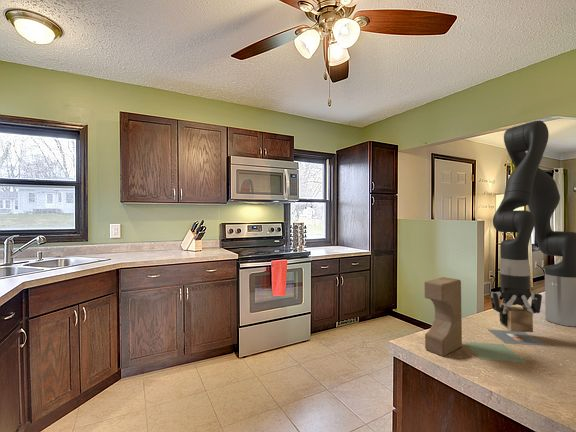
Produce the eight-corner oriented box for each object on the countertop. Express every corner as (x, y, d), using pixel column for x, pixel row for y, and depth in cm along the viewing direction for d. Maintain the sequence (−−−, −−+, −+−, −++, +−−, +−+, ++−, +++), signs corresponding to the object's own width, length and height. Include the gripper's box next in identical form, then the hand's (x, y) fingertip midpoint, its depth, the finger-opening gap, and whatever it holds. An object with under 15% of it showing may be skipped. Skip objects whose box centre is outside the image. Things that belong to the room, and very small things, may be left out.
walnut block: (520, 324, 93) (520, 306, 93) (533, 332, 87) (532, 312, 88) (500, 324, 94) (499, 306, 95) (511, 331, 89) (510, 312, 89)
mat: (503, 344, 86) (503, 344, 86) (527, 363, 75) (527, 362, 75) (463, 342, 88) (463, 341, 88) (480, 359, 77) (480, 359, 77)
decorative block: (443, 357, 78) (442, 284, 79) (423, 349, 83) (423, 281, 83) (463, 347, 84) (462, 279, 85) (443, 340, 89) (443, 276, 89)
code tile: (523, 332, 95) (523, 331, 95) (546, 346, 84) (546, 345, 84) (487, 329, 97) (487, 329, 97) (505, 343, 87) (505, 343, 87)
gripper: (532, 270, 93) (533, 321, 93) (483, 270, 96) (485, 320, 96) (548, 275, 86) (550, 331, 86) (495, 274, 89) (497, 328, 89)
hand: (515, 324), depth 91 cm, fingers closed on walnut block, 6 cm apart
